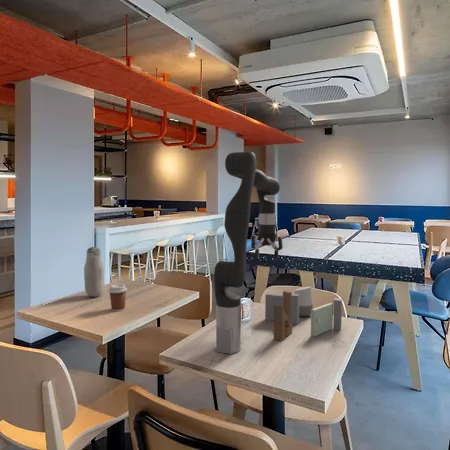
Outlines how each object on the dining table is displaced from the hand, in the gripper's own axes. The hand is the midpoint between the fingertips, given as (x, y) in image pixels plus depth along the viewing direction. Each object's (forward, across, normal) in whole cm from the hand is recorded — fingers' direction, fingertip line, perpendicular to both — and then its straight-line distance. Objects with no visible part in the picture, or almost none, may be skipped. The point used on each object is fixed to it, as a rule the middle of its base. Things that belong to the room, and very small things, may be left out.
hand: (266, 258), depth 178 cm
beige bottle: (+28, -99, 0) cm, 103 cm away
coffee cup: (+29, -72, -15) cm, 79 cm away
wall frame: (+28, +17, -2) cm, 33 cm away
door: (+28, +28, -9) cm, 41 cm away
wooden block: (+29, +13, -19) cm, 37 cm away
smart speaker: (+28, +15, +11) cm, 34 cm away
